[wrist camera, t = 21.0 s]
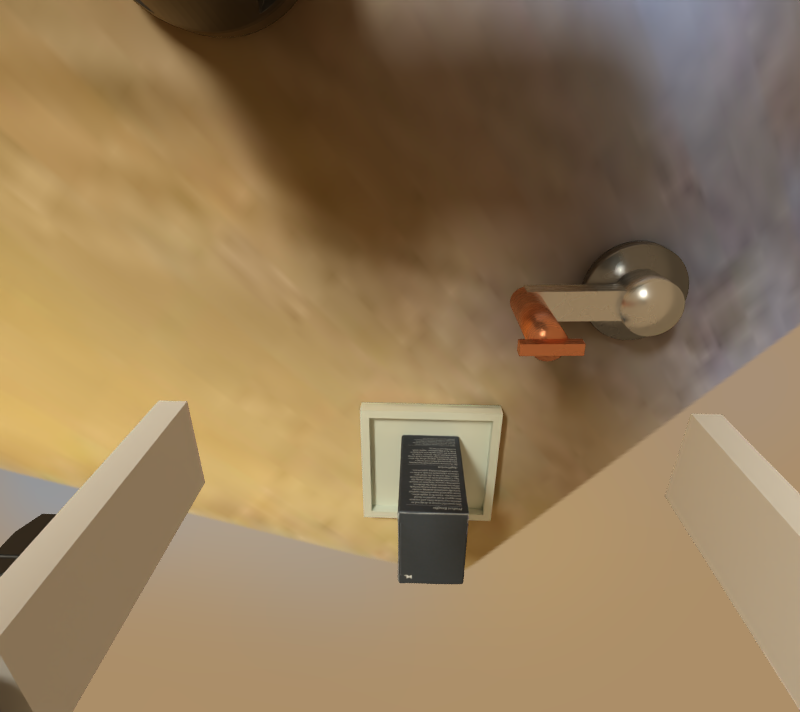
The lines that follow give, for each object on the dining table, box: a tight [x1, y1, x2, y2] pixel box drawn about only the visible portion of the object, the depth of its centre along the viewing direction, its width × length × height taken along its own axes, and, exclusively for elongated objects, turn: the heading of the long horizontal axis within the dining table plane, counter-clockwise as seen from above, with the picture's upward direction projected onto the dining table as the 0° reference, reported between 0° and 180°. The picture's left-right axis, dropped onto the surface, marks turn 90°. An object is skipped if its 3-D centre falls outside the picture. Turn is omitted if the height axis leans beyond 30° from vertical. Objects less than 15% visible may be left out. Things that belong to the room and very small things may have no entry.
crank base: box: [582, 241, 689, 340], centre depth 40 cm, size 8×8×1 cm
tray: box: [360, 402, 503, 521], centre depth 48 cm, size 13×13×1 cm
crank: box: [510, 269, 685, 361], centre depth 35 cm, size 13×4×10 cm, turn 91°
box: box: [397, 435, 469, 584], centre depth 44 cm, size 8×6×11 cm
